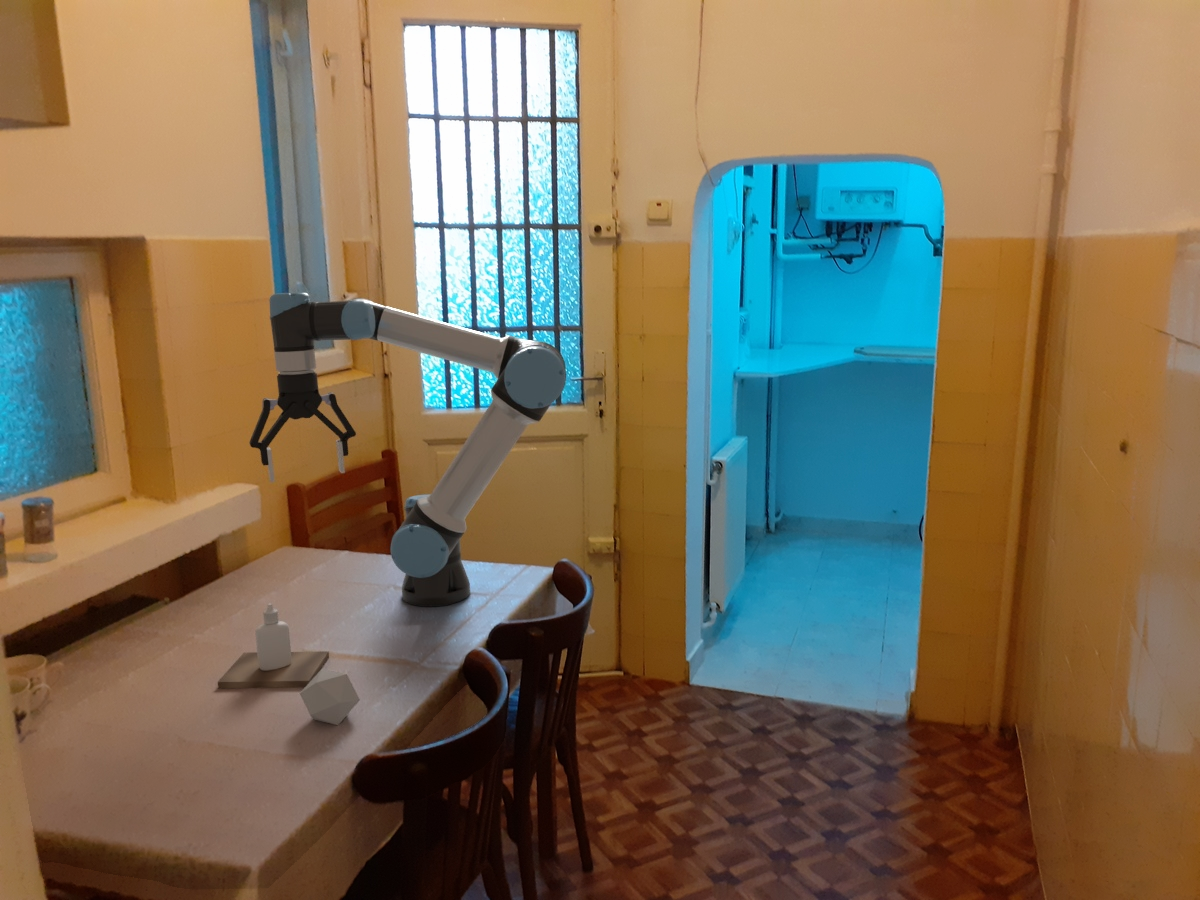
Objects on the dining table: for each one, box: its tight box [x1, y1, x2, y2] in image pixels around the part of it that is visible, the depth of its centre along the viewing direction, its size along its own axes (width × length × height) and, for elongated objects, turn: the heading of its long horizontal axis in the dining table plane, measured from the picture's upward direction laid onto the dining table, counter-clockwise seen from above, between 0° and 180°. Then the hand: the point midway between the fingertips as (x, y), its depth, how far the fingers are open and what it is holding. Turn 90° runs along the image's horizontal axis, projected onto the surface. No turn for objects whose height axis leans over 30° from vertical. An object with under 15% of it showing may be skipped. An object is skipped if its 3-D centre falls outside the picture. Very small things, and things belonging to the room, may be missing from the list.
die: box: [299, 668, 360, 726], centre depth 142 cm, size 8×9×10 cm
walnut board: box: [217, 650, 330, 689], centre depth 159 cm, size 16×12×1 cm
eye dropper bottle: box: [255, 602, 292, 671], centre depth 158 cm, size 4×6×12 cm
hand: (307, 476), depth 177 cm, fingers open, 13 cm apart
